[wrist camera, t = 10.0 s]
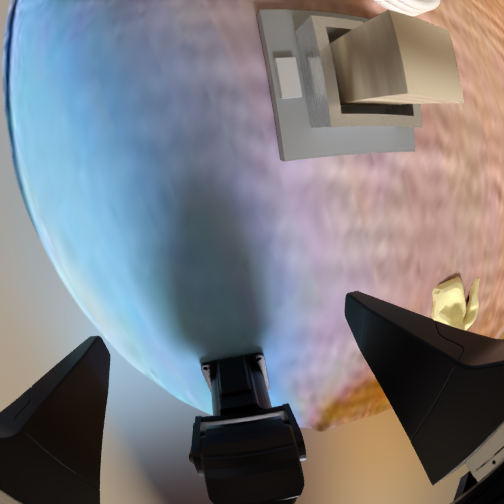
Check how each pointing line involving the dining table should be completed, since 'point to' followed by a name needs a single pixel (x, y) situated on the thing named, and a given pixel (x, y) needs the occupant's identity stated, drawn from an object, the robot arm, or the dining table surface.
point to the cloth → (455, 304)
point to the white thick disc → (409, 6)
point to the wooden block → (396, 63)
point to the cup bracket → (325, 84)
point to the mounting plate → (295, 103)
